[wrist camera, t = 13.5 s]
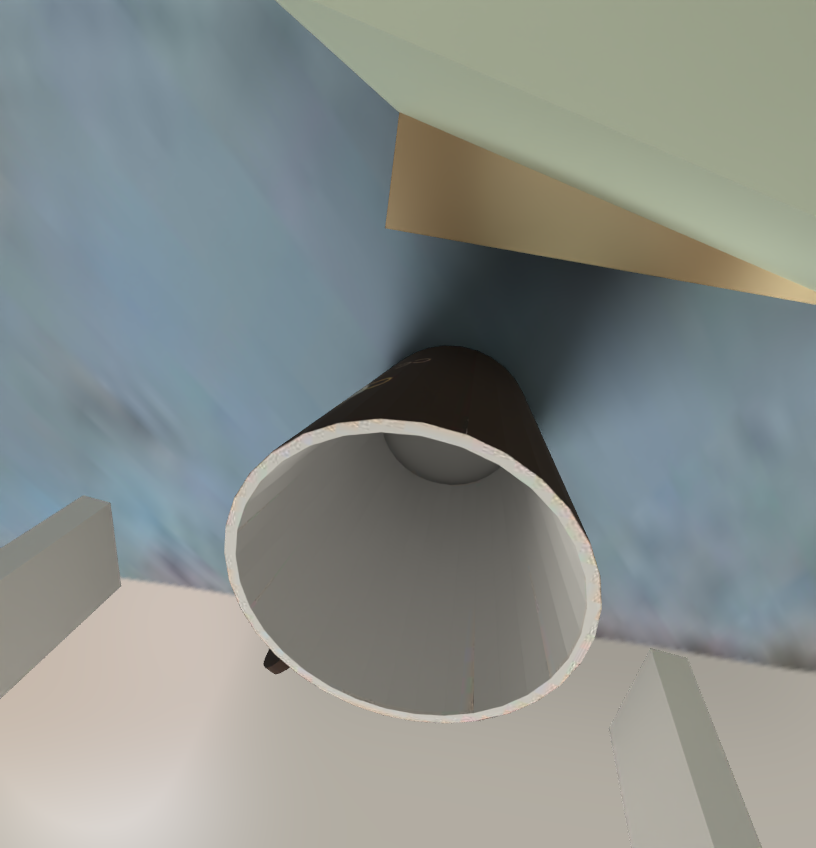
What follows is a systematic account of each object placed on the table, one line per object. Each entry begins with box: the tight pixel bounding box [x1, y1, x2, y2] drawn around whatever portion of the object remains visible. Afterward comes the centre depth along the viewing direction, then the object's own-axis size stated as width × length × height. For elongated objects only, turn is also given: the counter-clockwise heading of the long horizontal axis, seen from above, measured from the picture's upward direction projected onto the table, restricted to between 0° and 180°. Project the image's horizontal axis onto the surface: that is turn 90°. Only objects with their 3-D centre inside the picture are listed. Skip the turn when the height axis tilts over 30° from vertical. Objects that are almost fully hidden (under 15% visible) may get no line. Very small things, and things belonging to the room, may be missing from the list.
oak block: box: [385, 112, 816, 305], centre depth 12 cm, size 15×12×4 cm
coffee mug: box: [224, 346, 602, 723], centre depth 16 cm, size 12×9×10 cm
